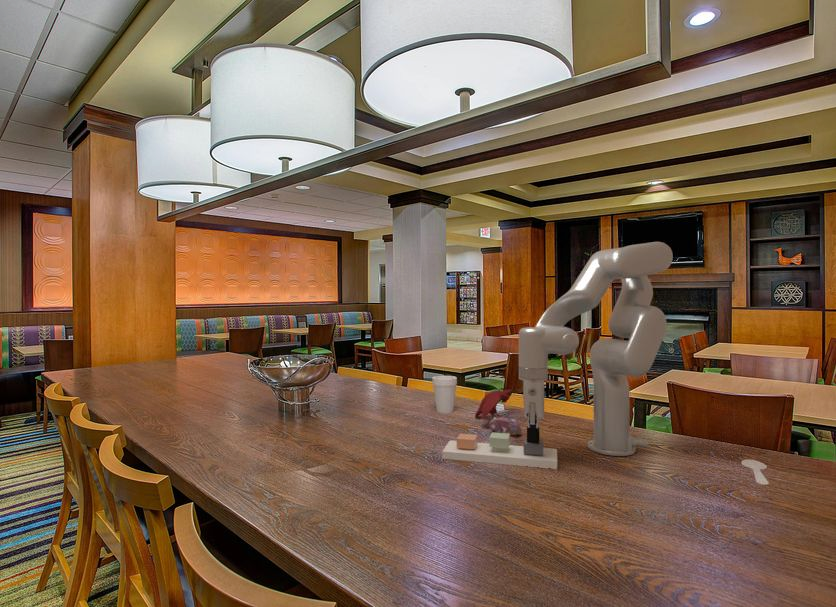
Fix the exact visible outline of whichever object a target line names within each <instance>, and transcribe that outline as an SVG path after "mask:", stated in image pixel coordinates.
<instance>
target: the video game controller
mask: <svg viewBox="0 0 836 607" xmlns="http://www.w3.org/2000/svg"><path fill="white" fill-rule="evenodd" d="M488 427H489V428H490V430H491V432H494V433H507V434H510V437H511V436H513V434H516V435H517V436H521V435H522V428H521V426H520V424H519V422H517V421H516V420H515V419H510V418H508V417H503V416H502V417H501V416H500V417H497V418H496V417H495V416H493V418H492V419H490V421H489V423H488ZM504 429H505V432H504Z"/></svg>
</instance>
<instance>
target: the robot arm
mask: <svg viewBox="0 0 836 607" xmlns="http://www.w3.org/2000/svg"><path fill="white" fill-rule="evenodd" d="M673 258H674V257H673V251H672V248H671V246H669V245H668V244H666V243H665V242H661V241H653V242H646V243H645V242H643V243H637V244H631V245H626V246H623V247H617V248H610V249H609V248H608V249H602V250H599V251H596V252H594V253H593V254H592V255H591V256H590V258H589V259H588V261H587V262H586V264H585V266H584V267H583V269H582V270H581V272H580V274H578V276H577V278H576V279H575V281H574V283H573V284H572V285H571V287H570V289H569V290H568V291H567V292H566V293H564V294H563V295H562V296H560V297H559V298H558V299H557V300H556V301H554V303H552V304H551V305H550V306H549V307H548V308H547V309H545V311H544V313H543V314H542V315H541V317H540V318H539V320H537V323H536V324H535V326H534V327H533V326H530V327H528V326H526V327H522V328H520V329H519V331H518V380H521V381H522V382H523V383H522V384H523V386H522V391H523V392H522V393H523V394H522V395H523V411H524V413H523V414H524V418H525V419H527V426H526V439H527V442H528V443H539V440H540V426H539V425H540V424H539V420H543V419H544V418H545V382H546V381H548V378H549V377H548V375H549V373H548V372H549V371H548V366H549V364H548V363H549V362H548V361H549V360H548V358H549V354H550V355H551V354H552V355H553V354H554V355H561V356H562V355H563V356H564V355H570V354H572V353H574V352H575V350H577V349H578V348H579V343H580V338H579V335H578V333H577V332H576V331H575V330H574V329H572V328H570V327H567V326H565V325H566V324H567V323H569V321H571V320H572V319H574V318H576V317H578V316H580V315H582V314H584V313H588V312H590V311H591V310H593V309H595V308H597V307H598V306H599V304H600V302H601V301H602V299H603V297H604V296H605V294H606V293H607V291H608V289H609V288H610V286H611V284H612V283H613V282H614V281H615V280H621V290H620V293H619V296H618V298H617V300H616V303H615V305H614V307H613V310H612V312H611V315H610V317H609V320H608V326H607V327H608V329H609V332H610V333H611V334H613V335H614V336H616V337H619V338H624V339H618V338H602V339H598V340H597V341H596V342H594V343H593V344H592V345H591V348H590V350H589V363H590V366H591V371H592V379H593V380H592V382H593V439H590V440H589V441H588V442H587V447H588V449H589V450H590V451H592V452H595V453H598V454H602V455H605V456H614V457H625V456H627V457H629V456H632V455H634V454H635V453H636V449H637V448H636V447H638V446H640V447H649V440H648V439H643V438H642V437H639V436H638V437H633V435H632V434H631V433H630V424H631V423H630V422H631V420H630V397H631V396H630V384H629V381H628V378H627V377H632V378H639V377H643V376H644V375H646V374H648V372H649V371H650V369H651V368H652V366H653V363H654V361H655V360H656V356H657V354H658V352H659V349H660V347H661V344H662V342H663V340H664V337H665V334H666V331H667V318H666V315H665V313H664V312H663V311H662V310H661V308H659V307H657V306H653V305H651V302H652V299H653V296H654V290H653V285H652V282H651V281H650V279H649V277H648V276H650V275H653V274H654V275H656V274H660V273H662V272H664V271H666V270H667V269H669V267H670V266H671V265H672V262H673ZM625 339H626V340H625ZM627 339H628V340H627Z"/></svg>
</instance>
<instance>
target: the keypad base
mask: <svg viewBox="0 0 836 607" xmlns="http://www.w3.org/2000/svg"><path fill="white" fill-rule="evenodd" d="M441 457H442V458H441V459H442V460H452V461H462V462H463V461H464V462H474V463H483V464H484V463H486V464H494V465H495V464H496V465H506V466H507V465H508V466H516V465H517V466H518V467H526V466H528V468H537V467H539V469H548V468H551V470H558V449H557V448H548V447H544V450H543V455H536V454H524V445H514V444H513V445H512V444H509V448H497V447H489V442H487V443H486V442H478V444H477V446H476V448H475V449H465V448H457V440H451V439H450V440H449V441H448V443H447V444H446V446H445V447H444V448H443V450H442V452H441Z"/></svg>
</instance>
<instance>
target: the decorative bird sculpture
mask: <svg viewBox="0 0 836 607" xmlns="http://www.w3.org/2000/svg"><path fill="white" fill-rule="evenodd" d="M513 393H514V389H506V390H499V389H498V390H493V391H490V392H488V393H487V394H486V395H485V396H483V398H482V400H481V402H480V403H479V404H480V405H479V407H478V408H477V410H476V413H475V415H474V418H476V417H477V418H478V417H480V415H481V417H480V418H481V419H482V421H484V420H485V419H486V417H487V416H488V415H490V416H493V417H495V418H500V417H503V415H502V416H500V415H499V414H498V411H497V405H498V404H499V403H500V402H501V403H507V401H508V400H510V398H511V396H512V394H513ZM496 415H497V416H496ZM477 418H476V419H477Z"/></svg>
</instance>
